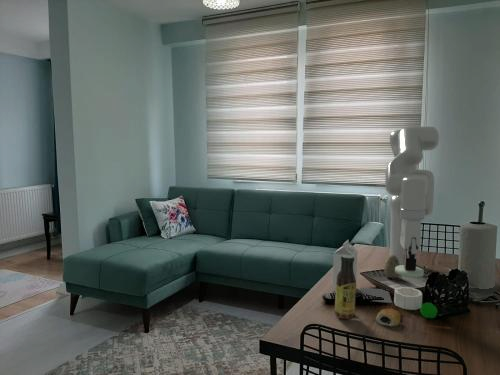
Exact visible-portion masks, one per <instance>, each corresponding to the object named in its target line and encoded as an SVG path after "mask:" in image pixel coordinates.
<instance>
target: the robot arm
mask: <svg viewBox="0 0 500 375" xmlns="http://www.w3.org/2000/svg"><path fill="white" fill-rule="evenodd" d="M439 140H440V134H439V131H438V129H437V128H436V127H434V126H407V127H404V128H402V129H397V130H394V131H391V132H390V134H389V143H390V148H391V150H392V153H393V157H394V158H392V159H391V160H390V162H389V163H388V164H387V166H386V170H385V180H384V181H385V182H384V183H385V190H386V192H387V194H389V195H392V196H391V197H390V198H389V211H390V212H389V213H390V238H389V239H390V240H389V245H390V246H389V257H390V256H392V255H394V256H396V257H397V259H398V261H399V264H400V265H404V256H405V251H407V258H406V265H405V269H406V270H416V267H417V251H419V250H420V249H421V237H422V236H421V235H422V234H421V233H422V231H421V230H422V221H425V218H427V217H431V216H432V214H433V212H434V211H433V210H434V196H435V195H434V194H435V177H434V173H433V171H431V170H429V169H417V165H419V164H421V163H422V162H423V158H424V153H423V152H424V151H433V150H435V149H437V147H438V146H439V142H440V141H439ZM409 251H411V252H410V253H409ZM387 260H388V258H386V260H385V263H386V262H387Z"/></svg>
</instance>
